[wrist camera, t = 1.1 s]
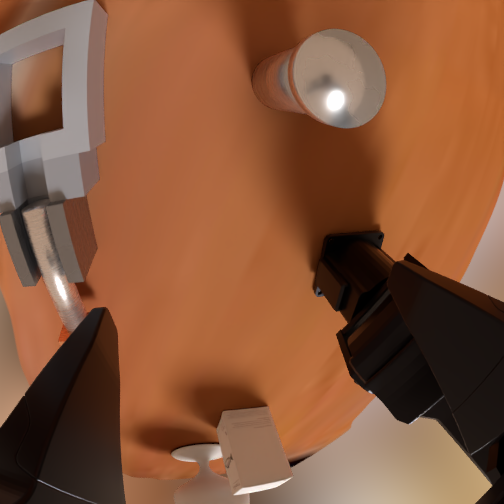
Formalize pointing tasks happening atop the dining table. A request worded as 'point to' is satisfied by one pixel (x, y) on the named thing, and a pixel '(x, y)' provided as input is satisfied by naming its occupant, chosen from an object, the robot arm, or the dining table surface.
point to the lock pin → (53, 268)
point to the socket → (73, 107)
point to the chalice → (205, 479)
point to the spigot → (324, 79)
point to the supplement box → (252, 450)
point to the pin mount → (65, 236)
